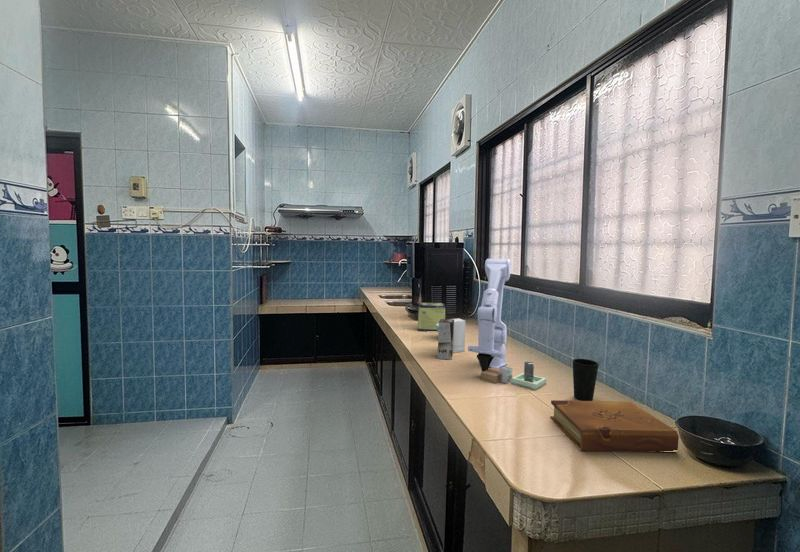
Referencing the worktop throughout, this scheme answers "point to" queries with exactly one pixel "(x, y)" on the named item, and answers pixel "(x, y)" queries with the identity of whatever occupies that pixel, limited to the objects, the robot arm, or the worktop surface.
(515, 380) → the green tray
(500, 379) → the block
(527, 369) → the steel pin
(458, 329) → the skincare box
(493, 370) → the brown rectangular block
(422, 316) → the protein box
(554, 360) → the worktop surface
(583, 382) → the cup
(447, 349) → the coffee box
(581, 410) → the diary
